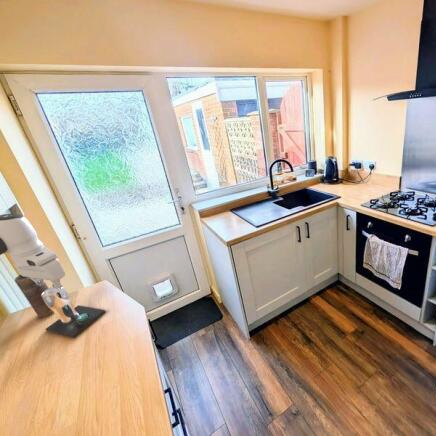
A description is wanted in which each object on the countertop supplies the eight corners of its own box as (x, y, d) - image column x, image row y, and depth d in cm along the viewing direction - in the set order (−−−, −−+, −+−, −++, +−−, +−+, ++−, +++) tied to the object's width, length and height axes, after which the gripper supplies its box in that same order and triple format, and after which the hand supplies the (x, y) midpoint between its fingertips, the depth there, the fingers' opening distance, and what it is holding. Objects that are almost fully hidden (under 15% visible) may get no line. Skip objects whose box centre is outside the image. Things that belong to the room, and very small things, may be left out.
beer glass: (64, 315, 104) (45, 287, 98) (83, 310, 106) (66, 282, 100) (56, 327, 98) (36, 299, 92) (76, 321, 100) (58, 293, 94)
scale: (46, 331, 99) (42, 326, 97) (79, 307, 110) (76, 302, 108) (75, 338, 94) (71, 332, 93) (106, 312, 105) (103, 307, 104)
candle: (54, 304, 114) (31, 268, 105) (64, 306, 111) (41, 270, 103) (35, 316, 107) (8, 280, 99) (45, 319, 105) (19, 282, 97)
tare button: (77, 321, 98) (75, 318, 98) (84, 315, 101) (83, 312, 100) (82, 322, 97) (80, 319, 97) (90, 316, 100) (88, 313, 99)
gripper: (1, 258, 89) (22, 288, 95) (39, 263, 83) (58, 294, 89) (22, 249, 95) (41, 278, 100) (59, 253, 89) (76, 283, 95)
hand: (49, 285), depth 95 cm, fingers open, 8 cm apart
